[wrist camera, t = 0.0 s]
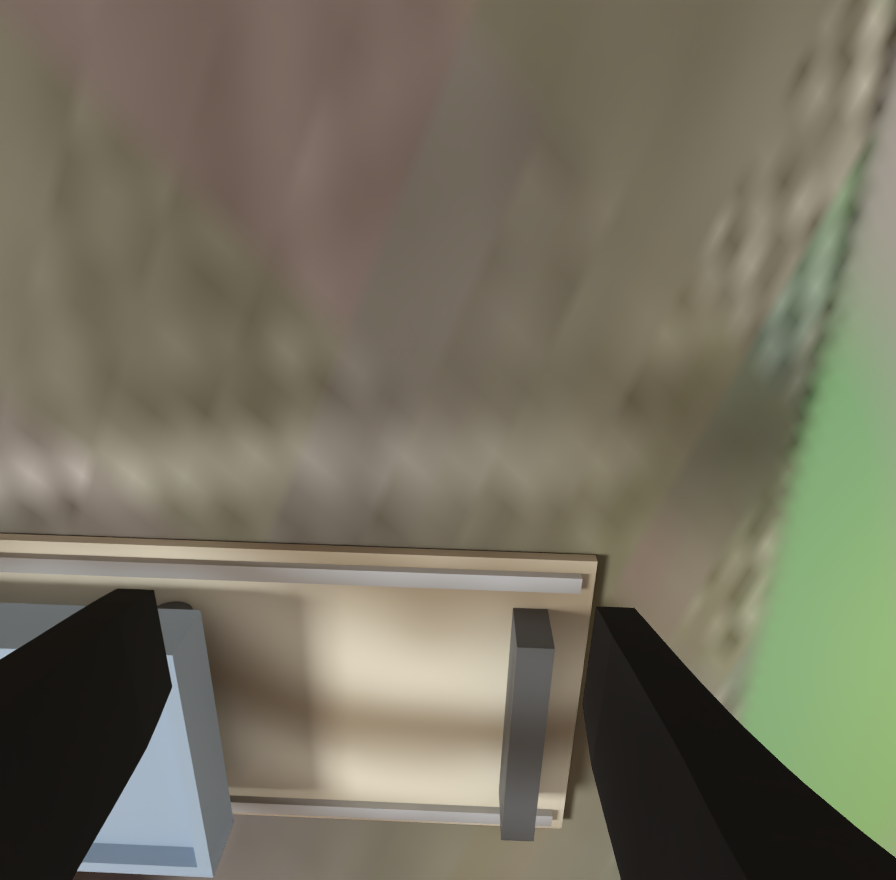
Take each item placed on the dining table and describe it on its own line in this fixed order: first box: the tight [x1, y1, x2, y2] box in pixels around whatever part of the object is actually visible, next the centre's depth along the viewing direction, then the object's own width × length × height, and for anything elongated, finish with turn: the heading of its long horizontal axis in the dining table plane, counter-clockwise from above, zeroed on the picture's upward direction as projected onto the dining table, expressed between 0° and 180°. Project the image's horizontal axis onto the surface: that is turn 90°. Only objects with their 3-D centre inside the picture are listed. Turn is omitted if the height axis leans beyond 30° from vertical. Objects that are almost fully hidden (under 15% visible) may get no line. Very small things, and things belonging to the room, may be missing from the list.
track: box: [0, 533, 598, 841], centre depth 23 cm, size 13×25×2 cm, turn 89°
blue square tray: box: [0, 602, 234, 877], centre depth 22 cm, size 10×10×3 cm
